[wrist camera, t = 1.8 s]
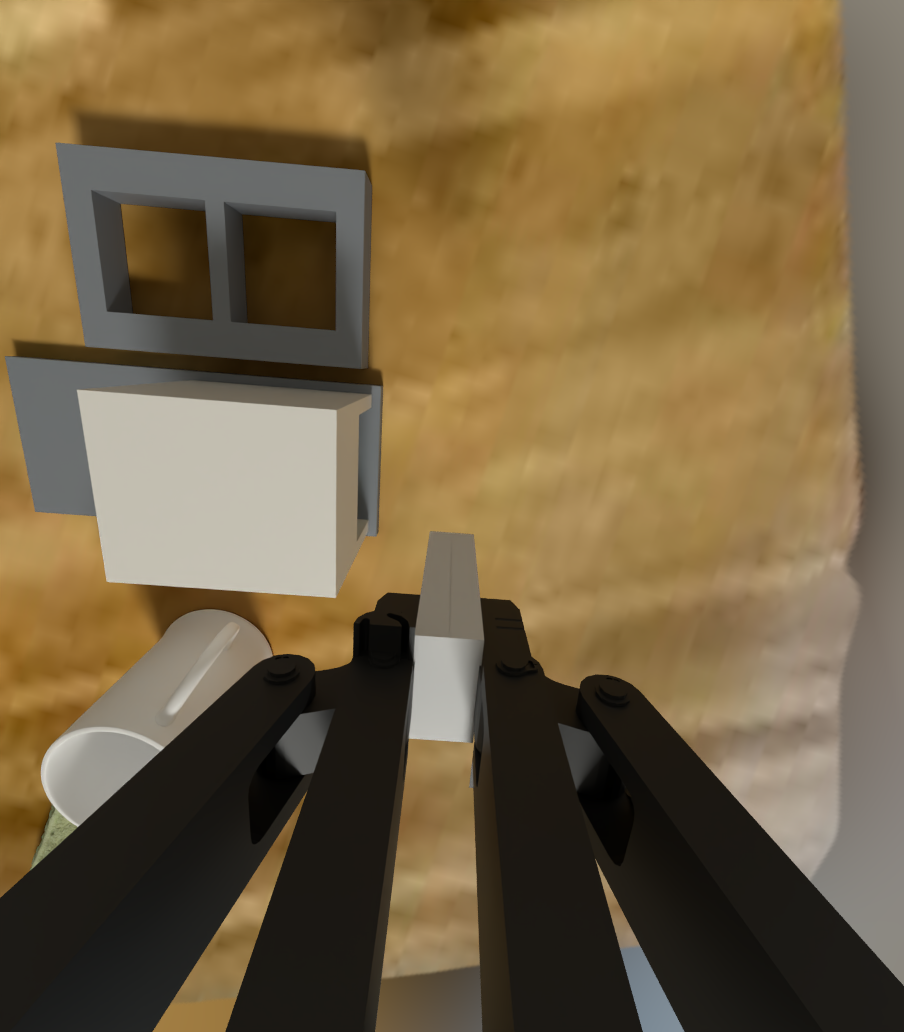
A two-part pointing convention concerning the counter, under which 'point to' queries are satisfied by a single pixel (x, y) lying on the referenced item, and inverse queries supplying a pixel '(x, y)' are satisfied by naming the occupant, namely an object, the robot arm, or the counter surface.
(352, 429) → the cover
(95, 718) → the mug
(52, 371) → the board
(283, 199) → the socket board
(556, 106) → the counter surface
